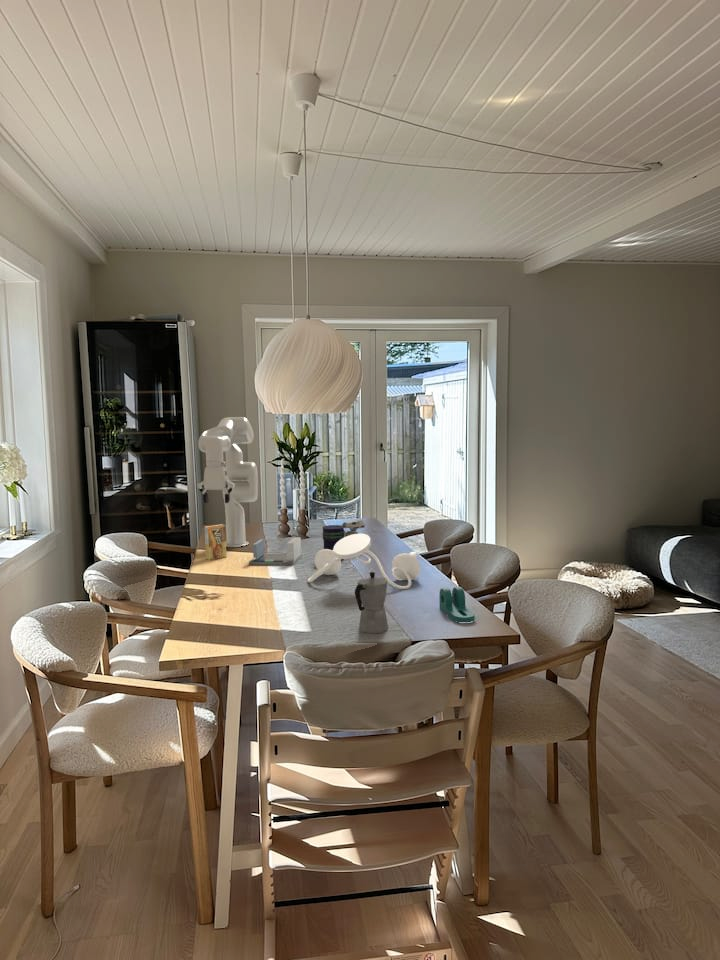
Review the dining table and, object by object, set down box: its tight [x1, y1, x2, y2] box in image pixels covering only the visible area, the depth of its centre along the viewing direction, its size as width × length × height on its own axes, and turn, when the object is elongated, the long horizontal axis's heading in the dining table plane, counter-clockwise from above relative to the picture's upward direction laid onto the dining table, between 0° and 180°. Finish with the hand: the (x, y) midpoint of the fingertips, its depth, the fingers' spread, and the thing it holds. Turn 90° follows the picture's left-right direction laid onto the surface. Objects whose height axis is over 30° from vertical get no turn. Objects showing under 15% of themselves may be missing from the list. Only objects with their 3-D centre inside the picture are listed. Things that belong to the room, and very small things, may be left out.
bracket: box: [439, 586, 476, 622], centre depth 223 cm, size 18×7×8 cm, turn 11°
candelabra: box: [306, 533, 421, 590], centre depth 270 cm, size 20×45×37 cm
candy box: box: [204, 523, 227, 561], centre depth 318 cm, size 9×4×15 cm, turn 129°
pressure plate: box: [252, 538, 265, 560], centre depth 310 cm, size 14×2×7 cm, turn 172°
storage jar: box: [322, 524, 345, 562], centre depth 310 cm, size 10×10×15 cm
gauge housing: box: [248, 536, 303, 566], centre depth 310 cm, size 18×20×10 cm
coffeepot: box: [354, 571, 389, 634], centre depth 210 cm, size 15×9×18 cm, turn 144°
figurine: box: [341, 519, 366, 537], centre depth 326 cm, size 9×12×15 cm
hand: (216, 502), depth 304 cm, fingers open, 9 cm apart
